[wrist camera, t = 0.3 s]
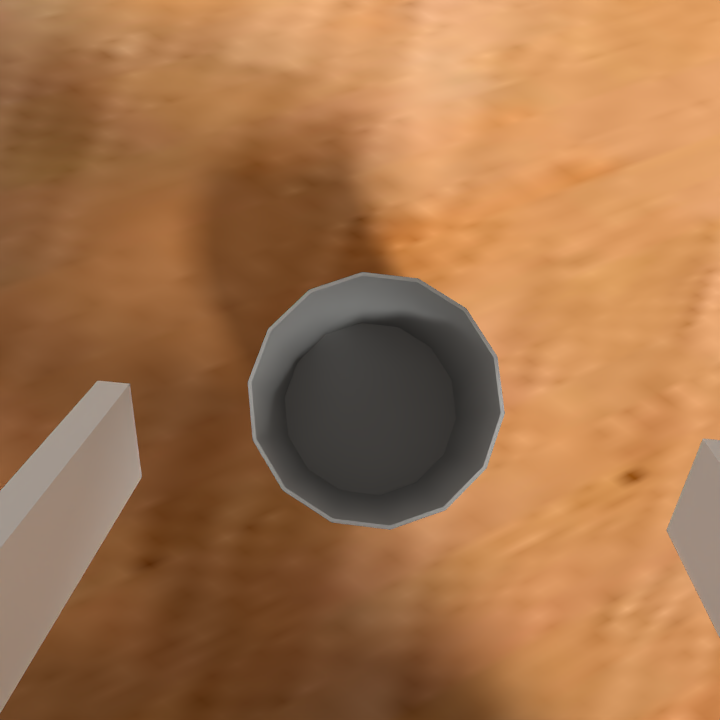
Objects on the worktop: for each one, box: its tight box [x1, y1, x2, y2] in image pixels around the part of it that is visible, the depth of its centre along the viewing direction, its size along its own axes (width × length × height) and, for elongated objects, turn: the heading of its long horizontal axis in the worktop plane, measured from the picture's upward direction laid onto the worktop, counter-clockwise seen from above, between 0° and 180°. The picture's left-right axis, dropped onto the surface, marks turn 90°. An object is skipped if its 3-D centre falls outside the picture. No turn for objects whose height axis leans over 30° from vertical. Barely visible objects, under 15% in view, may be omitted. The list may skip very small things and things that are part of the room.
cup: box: [248, 272, 505, 529], centre depth 25 cm, size 8×8×10 cm
